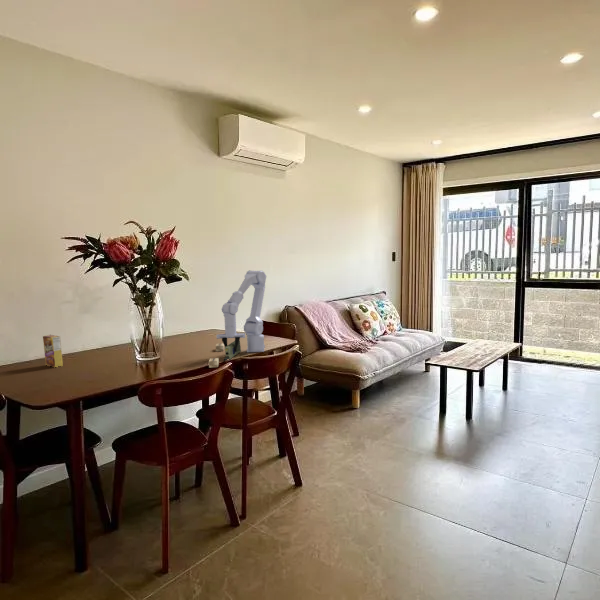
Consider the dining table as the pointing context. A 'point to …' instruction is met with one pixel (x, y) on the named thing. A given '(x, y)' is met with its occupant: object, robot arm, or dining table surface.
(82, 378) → the dining table surface
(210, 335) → the dining table surface
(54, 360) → the candy box
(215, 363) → the taped cardboard parcel
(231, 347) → the handheld radio
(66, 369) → the dining table surface
